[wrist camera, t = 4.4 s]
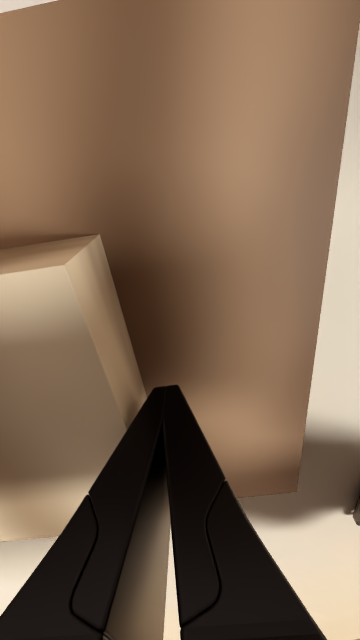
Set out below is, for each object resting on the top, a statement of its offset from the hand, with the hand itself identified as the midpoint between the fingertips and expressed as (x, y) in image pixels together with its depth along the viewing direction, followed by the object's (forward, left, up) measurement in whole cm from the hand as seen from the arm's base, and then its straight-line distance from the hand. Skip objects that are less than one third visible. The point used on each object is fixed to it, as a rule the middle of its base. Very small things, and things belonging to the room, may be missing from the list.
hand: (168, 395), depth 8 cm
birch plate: (+5, 0, -1) cm, 5 cm away
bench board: (+7, 0, -3) cm, 7 cm away
